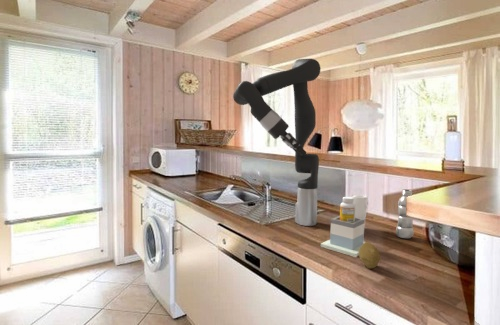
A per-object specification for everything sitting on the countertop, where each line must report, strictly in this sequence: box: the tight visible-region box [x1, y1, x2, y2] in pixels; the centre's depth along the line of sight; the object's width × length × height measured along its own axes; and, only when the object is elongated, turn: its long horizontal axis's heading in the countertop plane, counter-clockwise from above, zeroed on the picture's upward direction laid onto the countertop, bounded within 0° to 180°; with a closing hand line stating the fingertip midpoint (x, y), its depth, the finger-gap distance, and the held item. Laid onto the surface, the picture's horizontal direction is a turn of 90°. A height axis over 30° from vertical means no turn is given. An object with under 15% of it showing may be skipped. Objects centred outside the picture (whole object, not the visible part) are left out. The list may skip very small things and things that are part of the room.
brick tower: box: [320, 215, 366, 258], centre depth 116 cm, size 14×14×11 cm
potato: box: [358, 241, 381, 270], centre depth 99 cm, size 7×8×8 cm
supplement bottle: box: [339, 196, 355, 223], centre depth 115 cm, size 5×5×10 cm
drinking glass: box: [351, 194, 368, 228], centre depth 139 cm, size 7×7×15 cm
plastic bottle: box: [395, 189, 414, 240], centre depth 127 cm, size 6×7×20 cm
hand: (302, 153), depth 121 cm, fingers open, 8 cm apart
